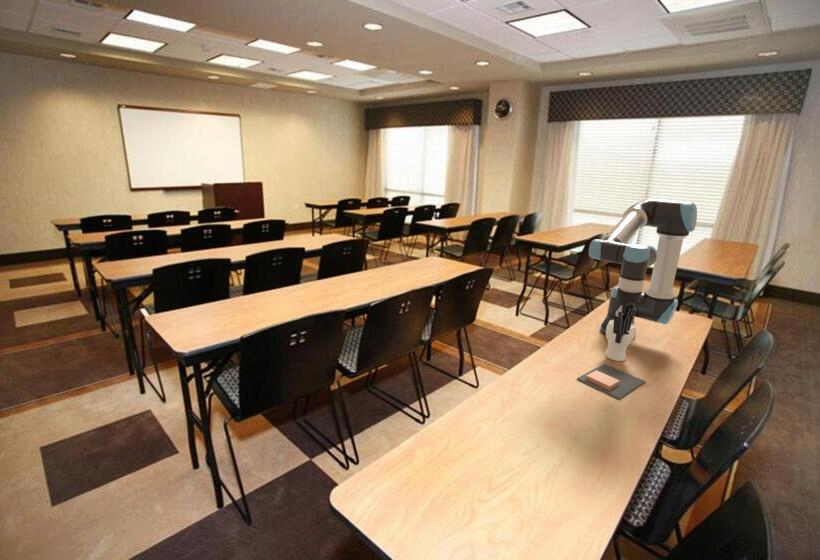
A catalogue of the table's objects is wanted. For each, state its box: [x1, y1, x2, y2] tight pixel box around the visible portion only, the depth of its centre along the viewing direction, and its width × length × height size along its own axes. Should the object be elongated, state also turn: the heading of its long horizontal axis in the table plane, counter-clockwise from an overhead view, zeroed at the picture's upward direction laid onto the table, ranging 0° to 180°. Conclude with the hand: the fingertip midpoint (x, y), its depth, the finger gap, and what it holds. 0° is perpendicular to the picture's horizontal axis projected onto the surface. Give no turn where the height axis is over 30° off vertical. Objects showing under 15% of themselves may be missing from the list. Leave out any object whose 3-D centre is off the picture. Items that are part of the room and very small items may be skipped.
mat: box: [576, 363, 646, 400], centre depth 152 cm, size 20×16×1 cm
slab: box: [586, 370, 620, 390], centre depth 150 cm, size 2×9×7 cm
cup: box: [604, 320, 636, 362], centre depth 169 cm, size 11×11×15 cm
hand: (617, 350), depth 148 cm, fingers closed
